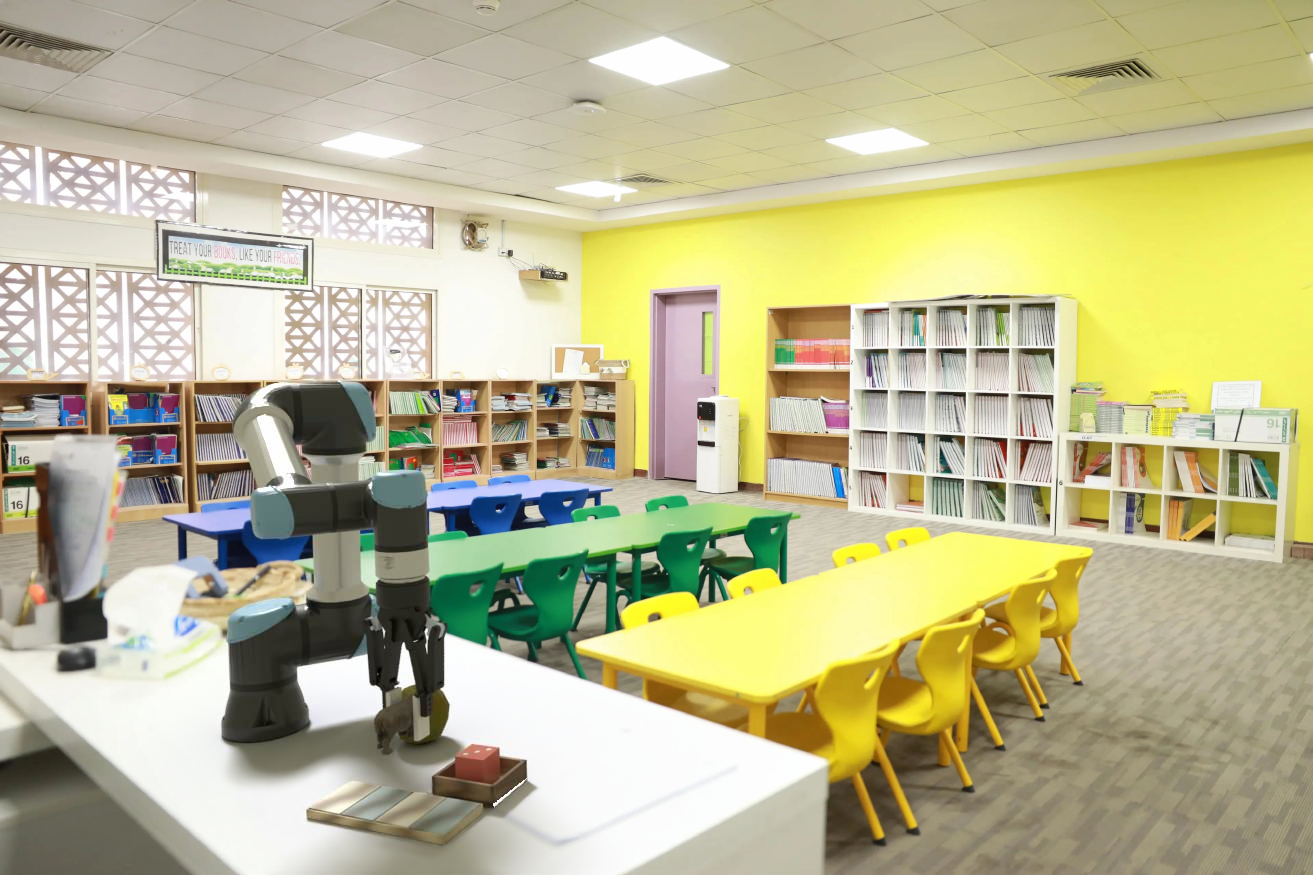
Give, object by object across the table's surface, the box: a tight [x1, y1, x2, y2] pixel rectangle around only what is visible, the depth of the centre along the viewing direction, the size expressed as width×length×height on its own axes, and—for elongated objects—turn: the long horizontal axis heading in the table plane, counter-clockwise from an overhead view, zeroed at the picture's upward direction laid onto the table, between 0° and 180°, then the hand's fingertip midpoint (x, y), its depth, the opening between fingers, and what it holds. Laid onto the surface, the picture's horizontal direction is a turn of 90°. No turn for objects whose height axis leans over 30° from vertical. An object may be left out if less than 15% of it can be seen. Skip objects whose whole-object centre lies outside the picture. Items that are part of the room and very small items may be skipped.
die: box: [454, 743, 501, 784], centre depth 139 cm, size 5×5×5 cm
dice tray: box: [431, 755, 528, 809], centre depth 139 cm, size 11×10×3 cm
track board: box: [305, 780, 484, 846], centre depth 131 cm, size 24×10×1 cm, turn 69°
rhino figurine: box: [373, 691, 433, 756], centre depth 129 cm, size 4×14×6 cm, turn 162°
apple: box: [397, 683, 451, 745], centre depth 158 cm, size 10×10×11 cm
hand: (408, 734), depth 129 cm, fingers closed on rhino figurine, 4 cm apart
